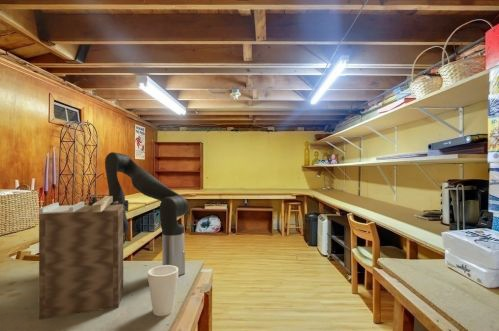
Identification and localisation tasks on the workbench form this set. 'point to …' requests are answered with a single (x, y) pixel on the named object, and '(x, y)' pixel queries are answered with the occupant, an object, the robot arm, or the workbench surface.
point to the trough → (60, 208)
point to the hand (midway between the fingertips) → (106, 199)
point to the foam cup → (163, 288)
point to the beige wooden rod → (102, 204)
